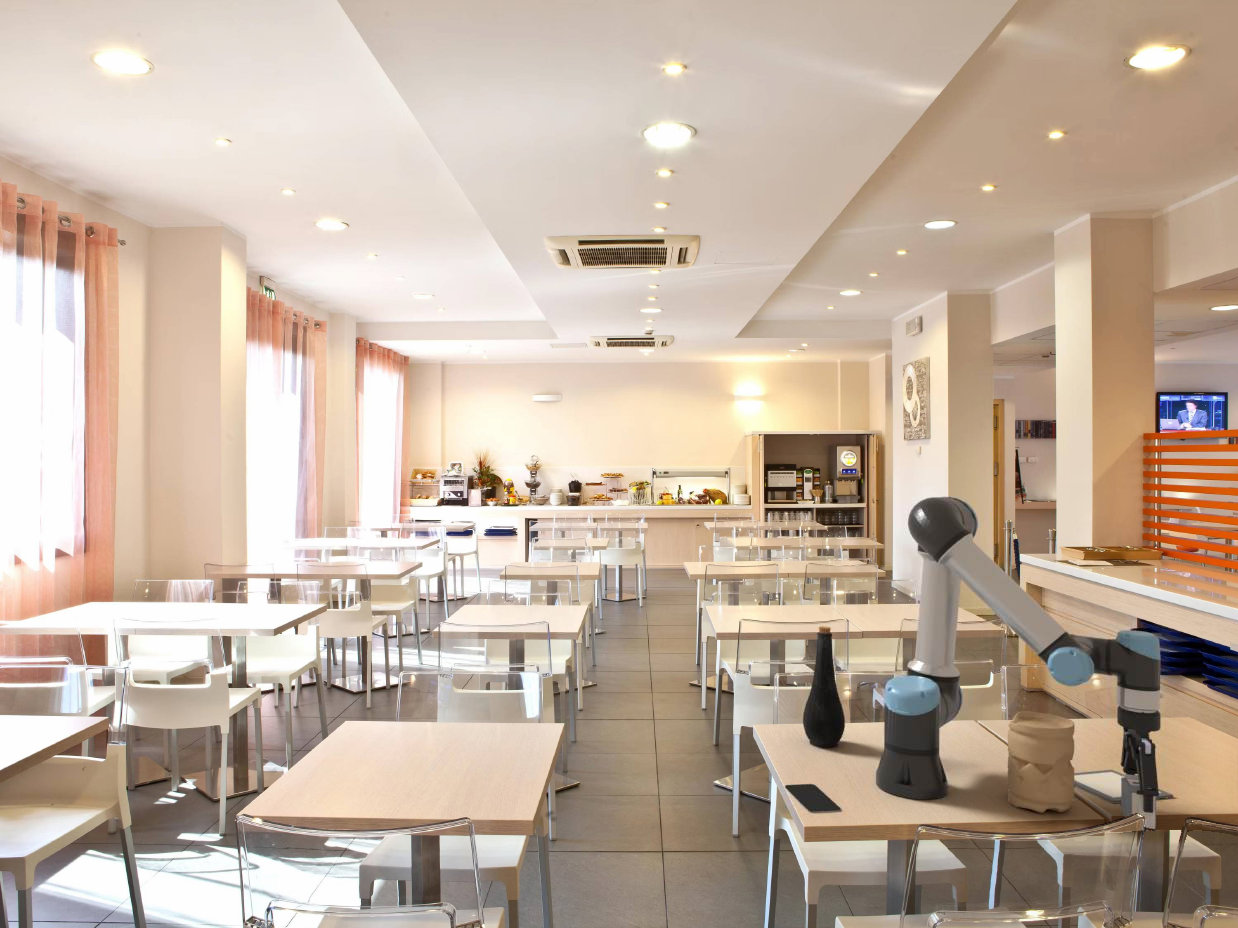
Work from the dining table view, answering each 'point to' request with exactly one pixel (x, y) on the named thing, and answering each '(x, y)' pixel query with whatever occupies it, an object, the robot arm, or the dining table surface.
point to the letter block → (1130, 796)
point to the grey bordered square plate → (1105, 785)
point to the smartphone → (812, 798)
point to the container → (1040, 762)
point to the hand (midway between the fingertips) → (1139, 816)
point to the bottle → (824, 698)
